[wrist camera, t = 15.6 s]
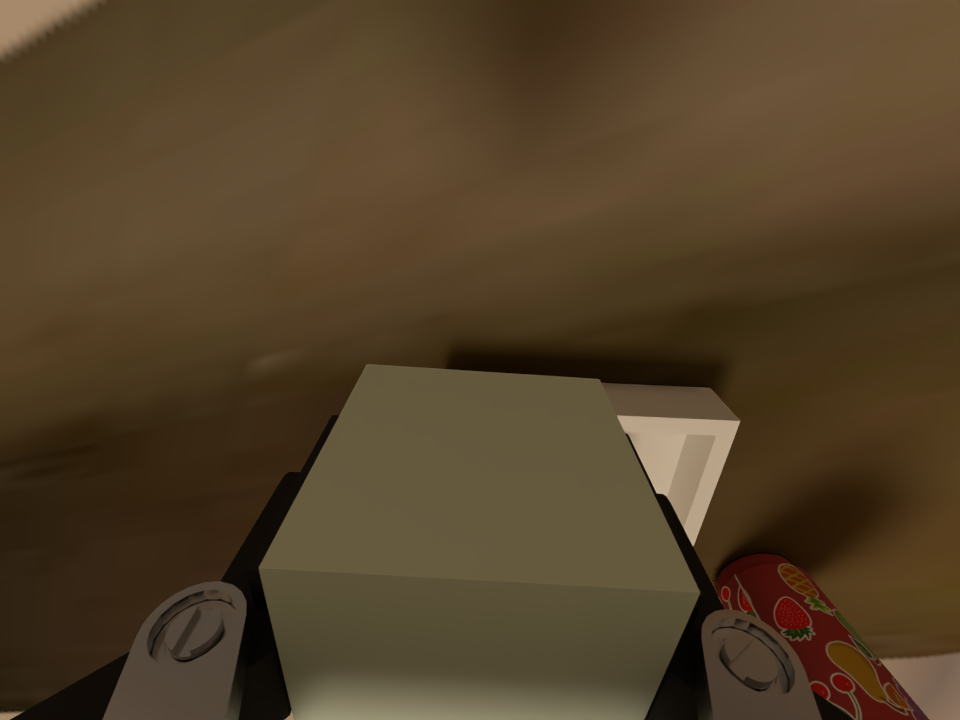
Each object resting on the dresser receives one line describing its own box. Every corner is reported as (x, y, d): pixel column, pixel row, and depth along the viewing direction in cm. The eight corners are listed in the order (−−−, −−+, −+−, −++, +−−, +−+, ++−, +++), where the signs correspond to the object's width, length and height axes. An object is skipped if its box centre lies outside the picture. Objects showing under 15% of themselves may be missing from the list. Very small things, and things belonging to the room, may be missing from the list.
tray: (710, 387, 26) (740, 421, 23) (643, 594, 35) (658, 639, 32) (444, 375, 26) (438, 407, 23) (441, 586, 35) (437, 630, 32)
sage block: (599, 379, 9) (700, 592, 5) (564, 542, 12) (612, 791, 7) (367, 364, 9) (258, 568, 5) (375, 532, 12) (307, 777, 7)
